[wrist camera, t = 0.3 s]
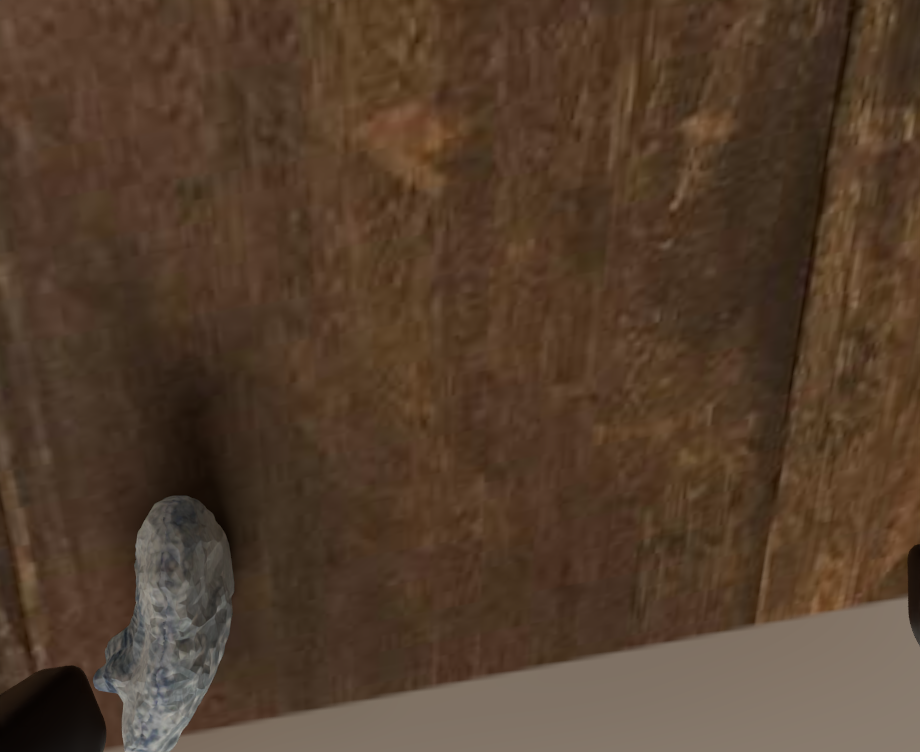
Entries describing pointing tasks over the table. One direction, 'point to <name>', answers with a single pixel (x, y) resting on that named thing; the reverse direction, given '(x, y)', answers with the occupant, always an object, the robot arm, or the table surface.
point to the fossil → (171, 624)
